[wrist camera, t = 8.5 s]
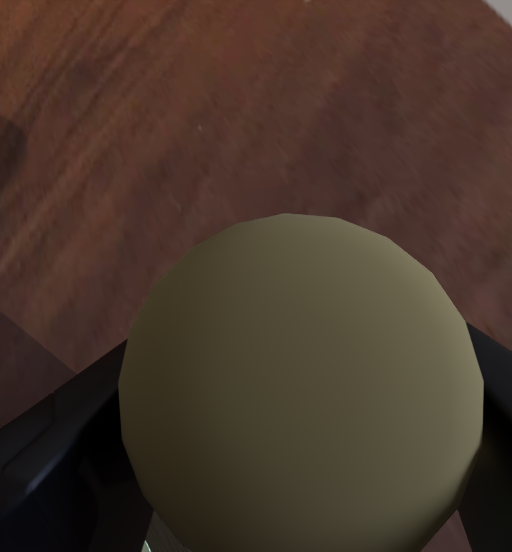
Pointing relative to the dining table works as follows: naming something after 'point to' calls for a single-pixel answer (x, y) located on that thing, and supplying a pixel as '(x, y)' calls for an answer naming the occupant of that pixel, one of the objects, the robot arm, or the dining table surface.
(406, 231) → the dining table surface
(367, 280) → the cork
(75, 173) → the dining table surface
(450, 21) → the dining table surface
